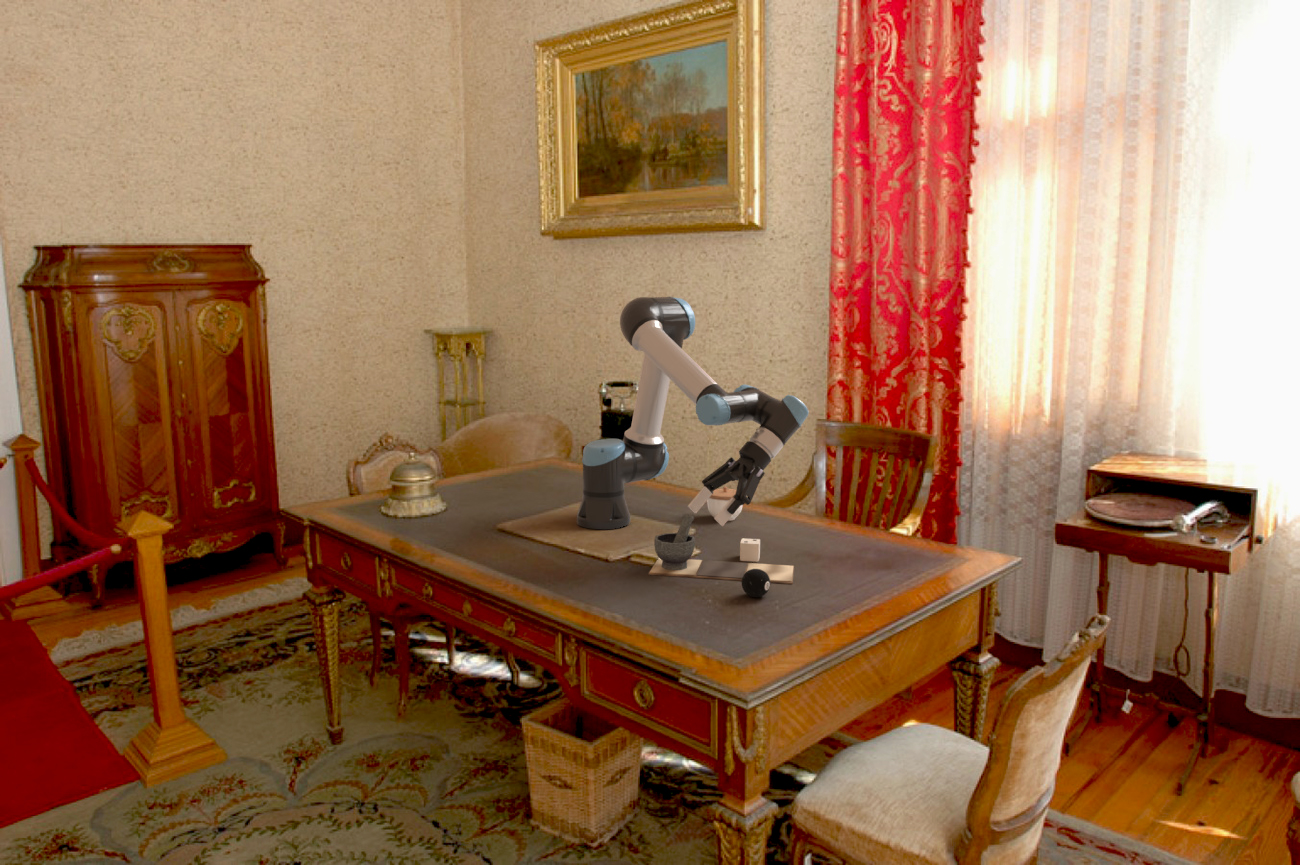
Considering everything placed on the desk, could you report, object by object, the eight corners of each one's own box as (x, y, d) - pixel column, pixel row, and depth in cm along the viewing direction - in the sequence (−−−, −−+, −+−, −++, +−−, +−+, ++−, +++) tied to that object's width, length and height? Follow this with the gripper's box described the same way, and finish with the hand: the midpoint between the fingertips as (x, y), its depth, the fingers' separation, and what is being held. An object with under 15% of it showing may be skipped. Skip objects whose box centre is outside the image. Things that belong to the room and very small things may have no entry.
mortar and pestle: (676, 575, 207) (677, 524, 205) (645, 567, 213) (646, 517, 211) (706, 564, 216) (707, 515, 214) (676, 556, 222) (676, 509, 220)
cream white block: (739, 560, 221) (740, 542, 220) (741, 555, 225) (742, 538, 225) (758, 562, 220) (758, 543, 219) (759, 556, 224) (760, 539, 224)
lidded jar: (743, 514, 267) (743, 483, 266) (743, 523, 257) (744, 491, 255) (706, 513, 268) (707, 482, 267) (705, 522, 258) (706, 490, 256)
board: (648, 574, 209) (648, 572, 209) (658, 558, 222) (658, 556, 222) (792, 584, 203) (792, 581, 203) (794, 567, 216) (794, 565, 216)
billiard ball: (751, 590, 199) (752, 563, 198) (774, 595, 195) (775, 569, 194) (736, 596, 194) (736, 569, 193) (759, 602, 191) (760, 575, 190)
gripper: (725, 432, 229) (671, 495, 225) (779, 447, 207) (720, 517, 203) (743, 452, 232) (690, 514, 228) (797, 468, 210) (740, 538, 206)
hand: (704, 516), depth 216 cm, fingers open, 13 cm apart
